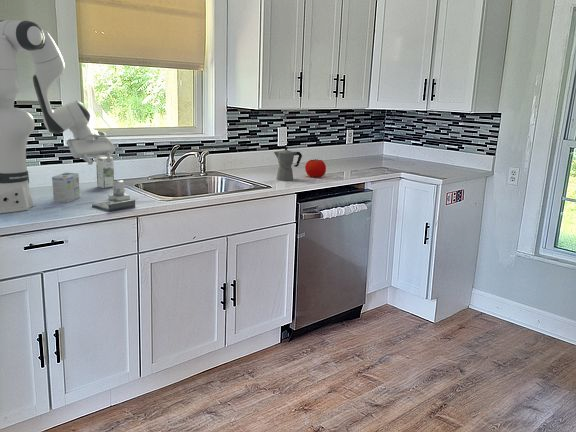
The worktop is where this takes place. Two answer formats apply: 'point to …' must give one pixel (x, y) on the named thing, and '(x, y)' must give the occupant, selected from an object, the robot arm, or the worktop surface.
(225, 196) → the worktop surface
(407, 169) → the worktop surface
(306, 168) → the tomato
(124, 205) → the seat plate
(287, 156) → the coffeepot
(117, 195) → the hub
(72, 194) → the light bulb box
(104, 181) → the syrup box
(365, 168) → the worktop surface
